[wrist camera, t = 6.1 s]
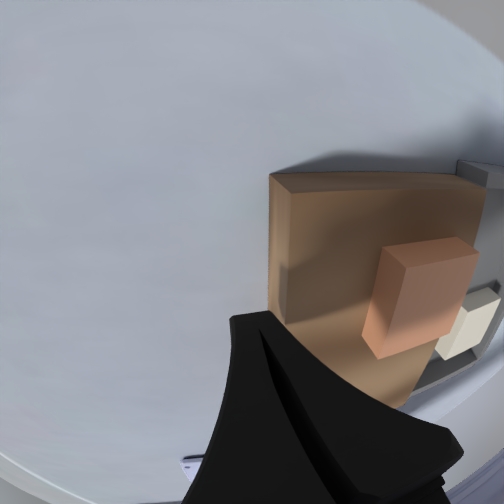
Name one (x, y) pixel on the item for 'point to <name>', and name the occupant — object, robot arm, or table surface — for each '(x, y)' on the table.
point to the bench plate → (356, 261)
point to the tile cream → (469, 323)
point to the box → (477, 271)
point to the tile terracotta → (417, 293)
